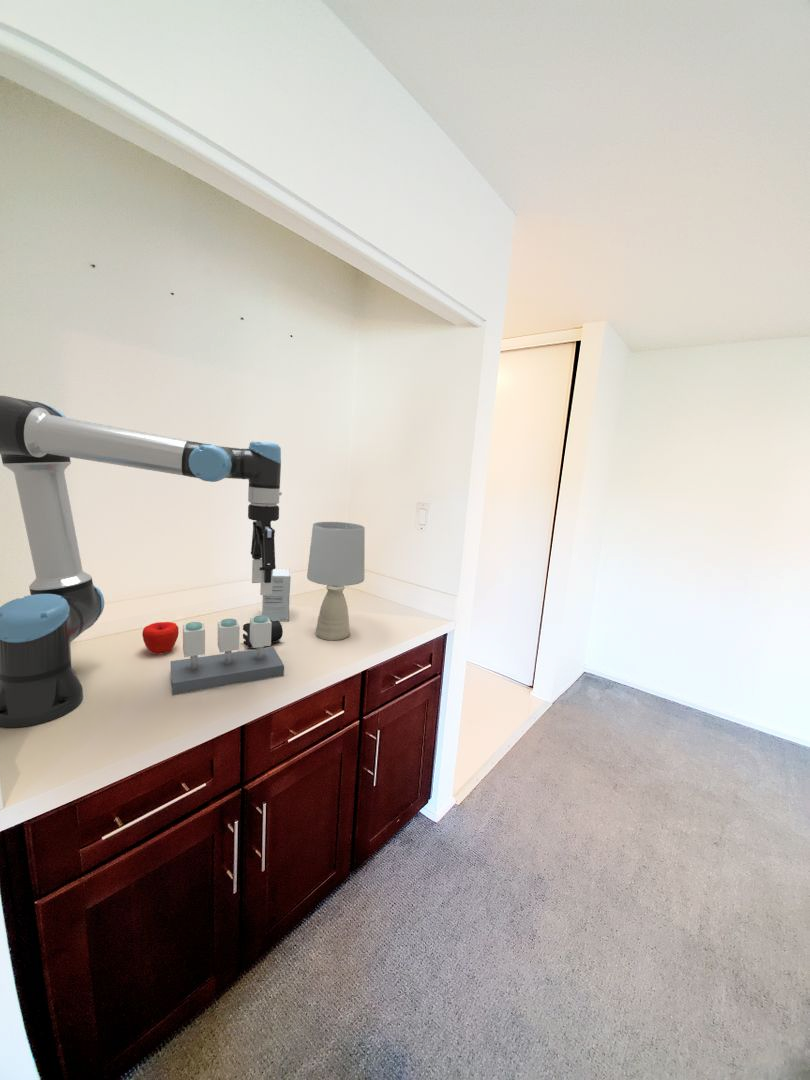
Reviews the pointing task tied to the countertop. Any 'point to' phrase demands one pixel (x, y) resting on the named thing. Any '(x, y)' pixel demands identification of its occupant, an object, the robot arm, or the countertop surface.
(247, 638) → the end cap
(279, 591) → the supplement box
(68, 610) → the robot arm
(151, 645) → the apple
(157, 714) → the countertop surface
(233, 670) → the mount
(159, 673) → the countertop surface
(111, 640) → the countertop surface
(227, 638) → the button mid
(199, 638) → the button near
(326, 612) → the lamp
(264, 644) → the button far
